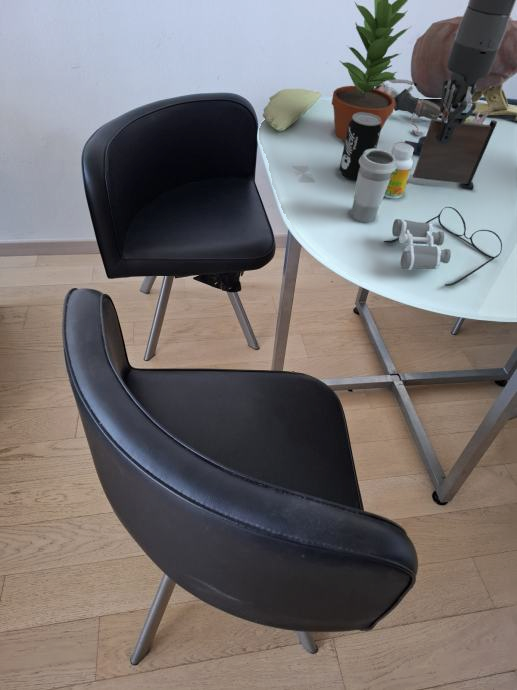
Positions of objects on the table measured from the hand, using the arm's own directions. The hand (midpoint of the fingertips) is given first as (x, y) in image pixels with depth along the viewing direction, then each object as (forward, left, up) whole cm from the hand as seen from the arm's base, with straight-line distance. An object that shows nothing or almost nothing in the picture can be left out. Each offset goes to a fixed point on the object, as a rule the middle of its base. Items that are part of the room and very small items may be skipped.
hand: (441, 141), depth 95 cm
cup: (+12, +14, -11) cm, 22 cm away
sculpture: (-9, -42, +7) cm, 44 cm away
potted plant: (+16, -22, -11) cm, 29 cm away
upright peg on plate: (-9, -5, -11) cm, 15 cm away
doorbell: (-2, -20, -11) cm, 22 cm away
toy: (-16, -37, -8) cm, 41 cm away
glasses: (-2, +23, -7) cm, 24 cm away
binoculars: (+2, +25, -9) cm, 27 cm away
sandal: (-21, -52, -11) cm, 57 cm away
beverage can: (+15, -2, -11) cm, 19 cm away
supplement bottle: (+7, +3, -11) cm, 13 cm away
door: (-3, -3, -9) cm, 10 cm away
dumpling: (+30, -26, -9) cm, 41 cm away
